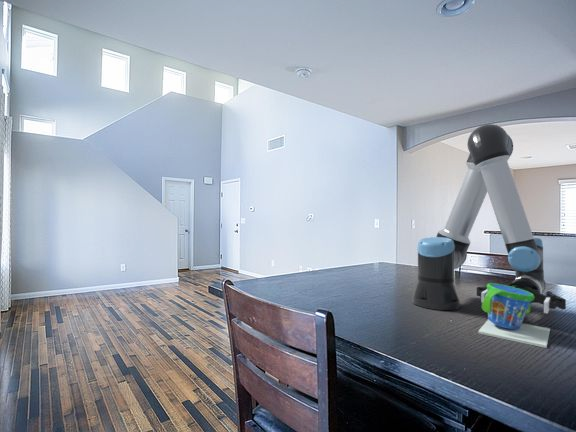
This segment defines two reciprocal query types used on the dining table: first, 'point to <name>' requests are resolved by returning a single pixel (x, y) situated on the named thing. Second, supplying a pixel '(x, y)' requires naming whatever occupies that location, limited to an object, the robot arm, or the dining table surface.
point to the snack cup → (507, 305)
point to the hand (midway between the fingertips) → (512, 302)
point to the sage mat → (518, 333)
